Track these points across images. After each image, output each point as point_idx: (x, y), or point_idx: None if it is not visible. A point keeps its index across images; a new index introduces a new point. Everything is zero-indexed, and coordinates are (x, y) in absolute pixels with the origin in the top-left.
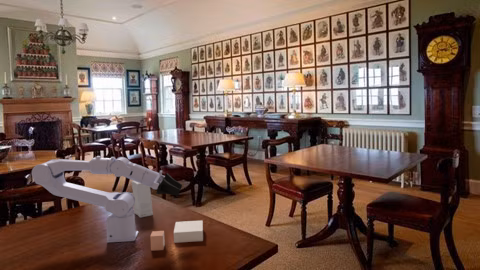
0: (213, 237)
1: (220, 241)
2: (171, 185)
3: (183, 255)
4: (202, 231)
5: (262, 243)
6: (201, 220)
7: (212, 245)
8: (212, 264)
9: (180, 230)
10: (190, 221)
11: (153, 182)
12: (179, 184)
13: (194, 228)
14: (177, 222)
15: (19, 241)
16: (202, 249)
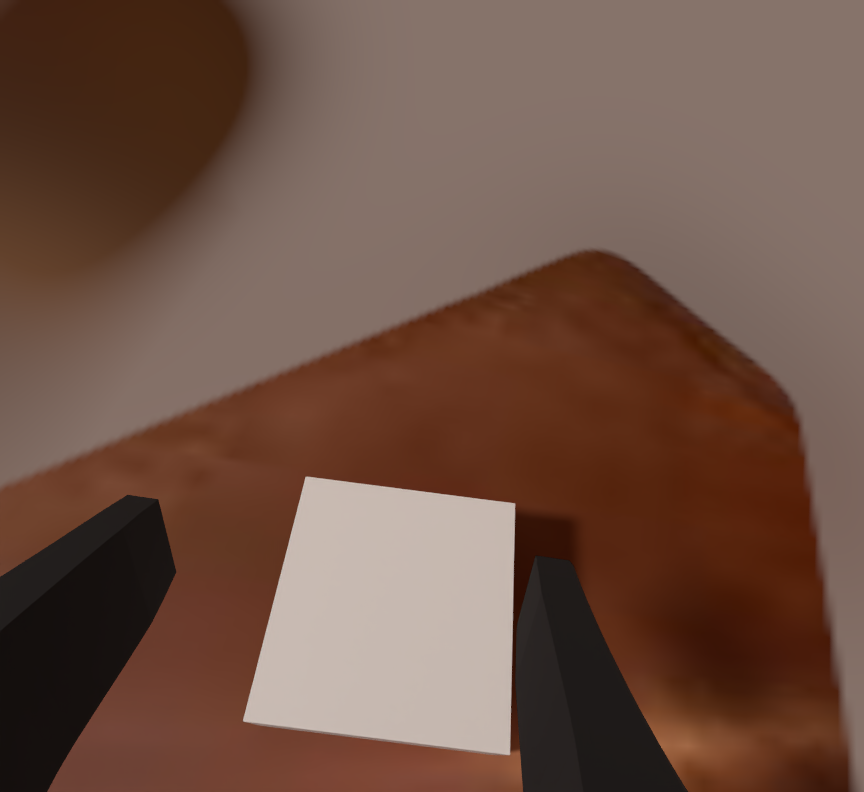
0: (464, 461)
1: (529, 434)
2: (659, 752)
3: (708, 684)
4: (514, 505)
5: (581, 274)
6: (304, 484)
7: (577, 484)
8: (805, 519)
9: (473, 681)
10: (290, 574)
11: None
12: (123, 545)
13: (455, 556)
14: (264, 703)
15: None
16: (626, 548)
